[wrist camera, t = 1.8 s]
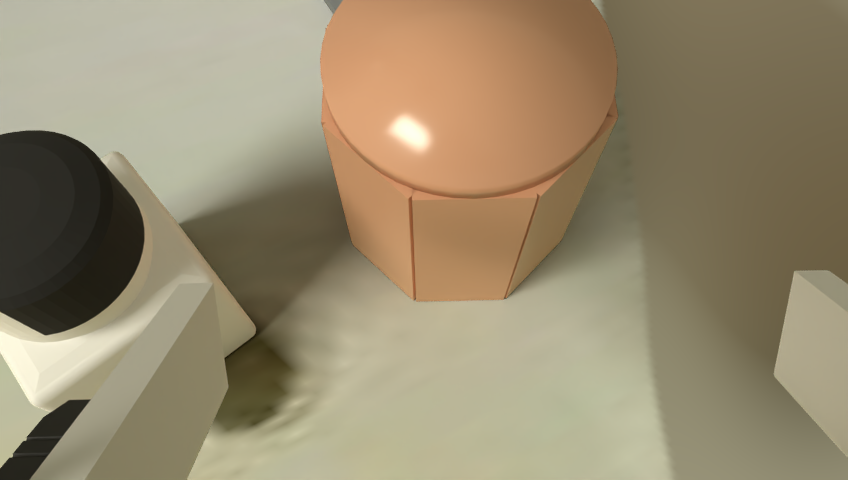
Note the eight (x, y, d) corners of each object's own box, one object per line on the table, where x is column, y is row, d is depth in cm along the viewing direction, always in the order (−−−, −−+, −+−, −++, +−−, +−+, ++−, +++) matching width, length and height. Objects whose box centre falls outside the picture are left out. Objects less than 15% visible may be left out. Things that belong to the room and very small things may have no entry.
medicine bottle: (177, 222, 33) (50, 63, 22) (261, 333, 30) (167, 219, 19) (42, 314, 31) (-172, 191, 20) (120, 438, 28) (-71, 378, 18)
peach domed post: (310, 205, 33) (258, 60, 23) (449, 83, 36) (459, -95, 26) (461, 344, 30) (480, 249, 20) (600, 199, 33) (677, 52, 23)
